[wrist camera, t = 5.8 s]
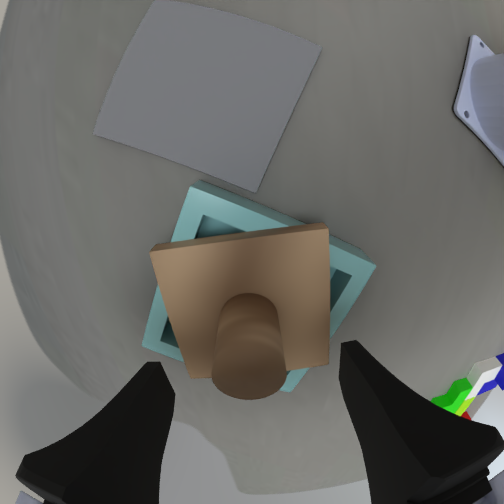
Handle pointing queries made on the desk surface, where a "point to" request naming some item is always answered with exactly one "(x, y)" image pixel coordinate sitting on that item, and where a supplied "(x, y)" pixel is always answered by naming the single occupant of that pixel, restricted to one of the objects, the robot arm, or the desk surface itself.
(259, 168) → the mat
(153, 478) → the robot arm
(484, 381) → the building blocks
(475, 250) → the desk surface
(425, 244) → the desk surface
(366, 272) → the dish
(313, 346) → the lid
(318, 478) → the desk surface
